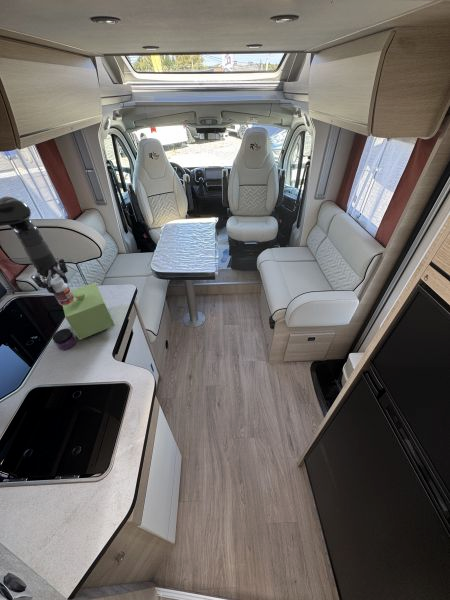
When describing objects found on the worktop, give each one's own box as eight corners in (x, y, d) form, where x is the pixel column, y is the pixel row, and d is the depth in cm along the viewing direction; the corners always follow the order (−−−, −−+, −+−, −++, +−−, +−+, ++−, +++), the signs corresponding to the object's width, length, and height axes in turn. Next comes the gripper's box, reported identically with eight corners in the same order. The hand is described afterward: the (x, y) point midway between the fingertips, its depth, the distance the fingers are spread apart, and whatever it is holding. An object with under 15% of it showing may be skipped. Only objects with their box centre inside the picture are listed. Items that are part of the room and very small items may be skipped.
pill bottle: (73, 304, 109) (62, 283, 101) (58, 307, 108) (45, 286, 100) (76, 295, 113) (65, 275, 106) (61, 298, 112) (49, 277, 105)
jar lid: (49, 341, 114) (48, 339, 113) (62, 329, 119) (61, 327, 118) (63, 345, 112) (62, 343, 111) (76, 332, 117) (74, 330, 116)
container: (74, 319, 131) (56, 289, 117) (107, 307, 137) (93, 277, 124) (81, 343, 118) (62, 312, 105) (116, 328, 125) (102, 298, 112)
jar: (54, 348, 117) (48, 340, 113) (67, 335, 122) (62, 327, 119) (68, 352, 115) (62, 344, 111) (80, 338, 120) (75, 331, 117)
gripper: (46, 242, 101) (65, 276, 112) (14, 261, 90) (38, 297, 101) (61, 245, 99) (79, 279, 110) (30, 264, 89) (53, 300, 100)
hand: (59, 287), depth 106 cm, fingers closed on pill bottle, 6 cm apart
